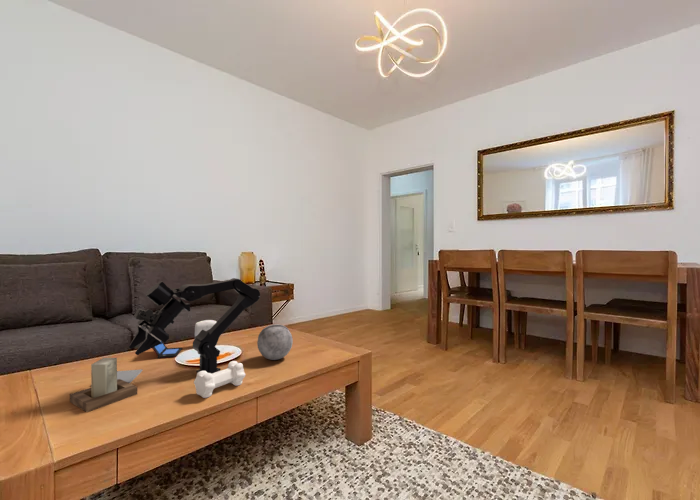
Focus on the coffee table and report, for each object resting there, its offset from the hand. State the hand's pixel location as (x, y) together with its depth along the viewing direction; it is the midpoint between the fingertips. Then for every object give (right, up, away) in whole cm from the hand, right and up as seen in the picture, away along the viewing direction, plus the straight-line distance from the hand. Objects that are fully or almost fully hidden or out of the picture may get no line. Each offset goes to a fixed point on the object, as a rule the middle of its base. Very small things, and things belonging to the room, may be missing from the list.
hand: (132, 350), depth 113 cm
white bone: (+29, -14, +1) cm, 32 cm away
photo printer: (+3, -13, +51) cm, 52 cm away
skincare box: (-6, -14, -5) cm, 16 cm away
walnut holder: (-6, -14, -5) cm, 16 cm away
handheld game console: (-10, -13, +38) cm, 41 cm away
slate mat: (-12, -13, +11) cm, 21 cm away
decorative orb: (+41, -13, +32) cm, 53 cm away
